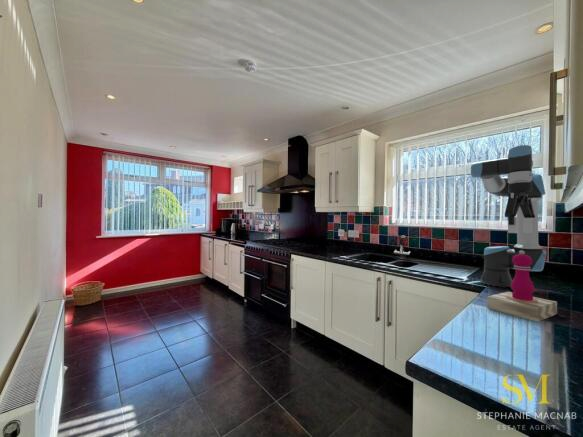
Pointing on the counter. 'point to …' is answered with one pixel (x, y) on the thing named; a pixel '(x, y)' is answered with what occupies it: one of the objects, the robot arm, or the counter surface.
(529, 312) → the birch stand
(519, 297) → the pepper mill
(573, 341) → the counter surface
